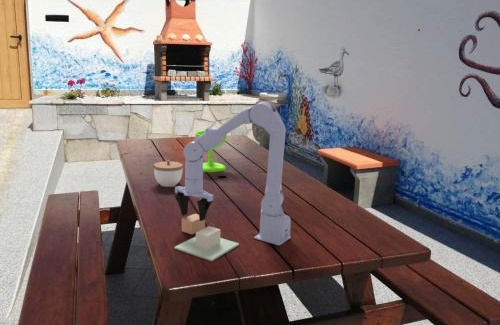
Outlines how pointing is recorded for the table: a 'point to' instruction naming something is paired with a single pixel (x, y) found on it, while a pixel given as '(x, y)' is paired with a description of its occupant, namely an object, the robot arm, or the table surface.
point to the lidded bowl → (168, 173)
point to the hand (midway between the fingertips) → (193, 217)
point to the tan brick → (192, 224)
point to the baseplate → (209, 254)
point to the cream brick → (208, 238)
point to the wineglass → (210, 165)
